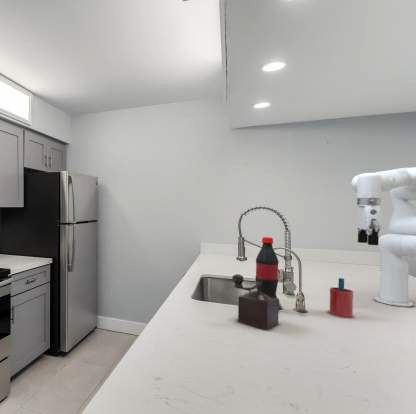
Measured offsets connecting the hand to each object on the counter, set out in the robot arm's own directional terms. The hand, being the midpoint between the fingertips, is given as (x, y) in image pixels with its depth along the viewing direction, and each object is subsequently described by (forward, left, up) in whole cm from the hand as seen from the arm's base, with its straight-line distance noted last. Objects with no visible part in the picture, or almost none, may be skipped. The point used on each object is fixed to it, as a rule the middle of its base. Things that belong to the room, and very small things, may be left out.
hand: (367, 243), depth 131 cm
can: (+14, -5, -28) cm, 32 cm away
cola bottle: (+32, -26, -28) cm, 50 cm away
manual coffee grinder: (+55, -20, -28) cm, 65 cm away
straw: (+14, -5, -28) cm, 32 cm away
